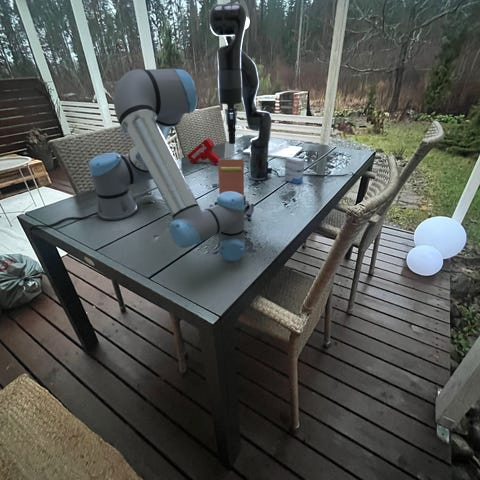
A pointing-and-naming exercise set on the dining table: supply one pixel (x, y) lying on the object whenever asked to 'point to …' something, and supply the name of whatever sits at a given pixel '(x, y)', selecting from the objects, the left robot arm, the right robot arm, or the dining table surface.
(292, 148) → the relief map
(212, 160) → the toy gun
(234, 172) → the block with yellow handle
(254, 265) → the dining table surface
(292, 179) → the ink box
